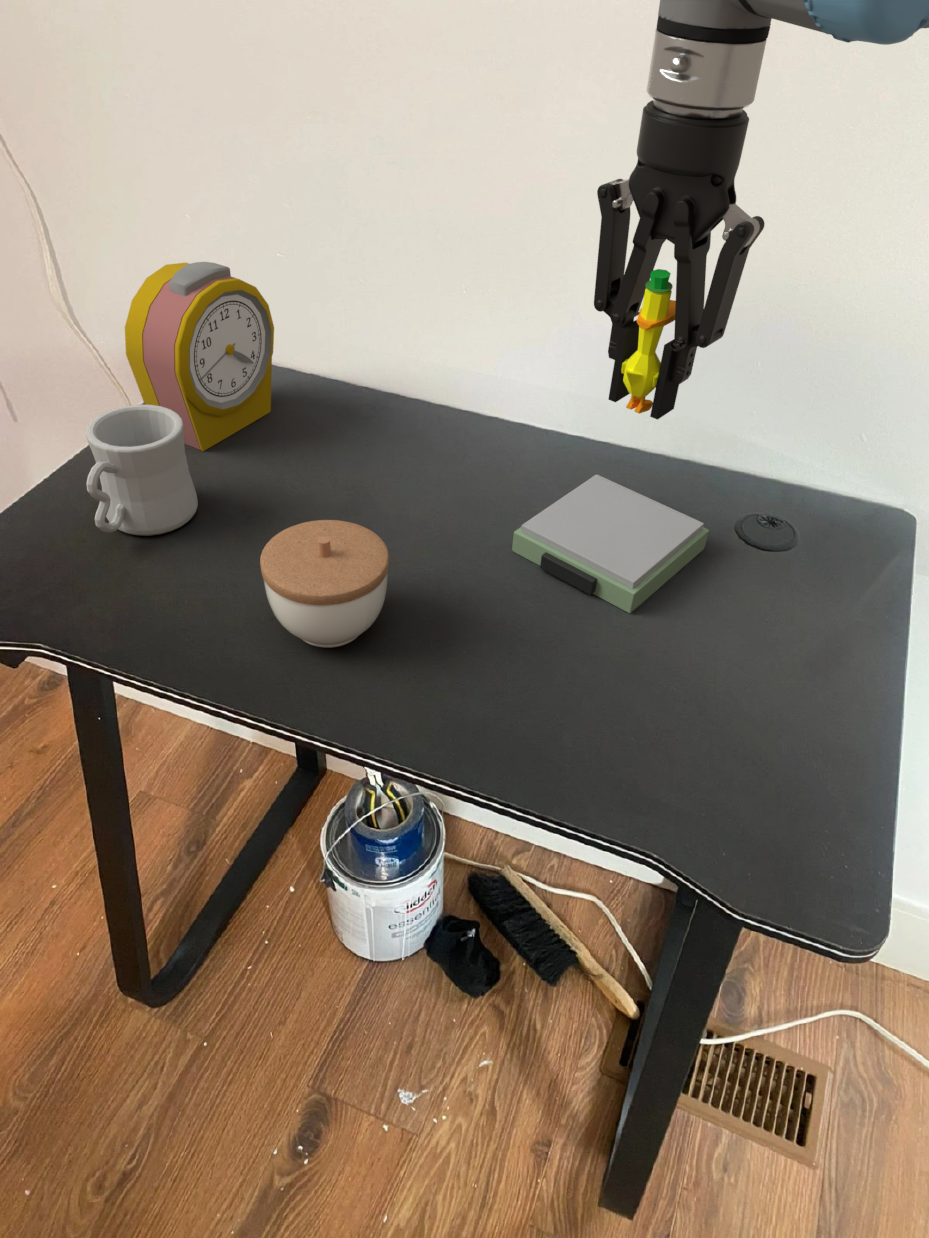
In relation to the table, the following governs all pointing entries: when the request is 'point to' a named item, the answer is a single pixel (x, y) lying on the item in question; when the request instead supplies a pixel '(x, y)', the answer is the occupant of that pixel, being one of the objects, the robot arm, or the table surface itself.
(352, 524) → the trinket box
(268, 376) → the alarm clock
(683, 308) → the robot arm
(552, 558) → the kitchen scale
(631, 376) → the toy figure
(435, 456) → the table surface
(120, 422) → the mug
